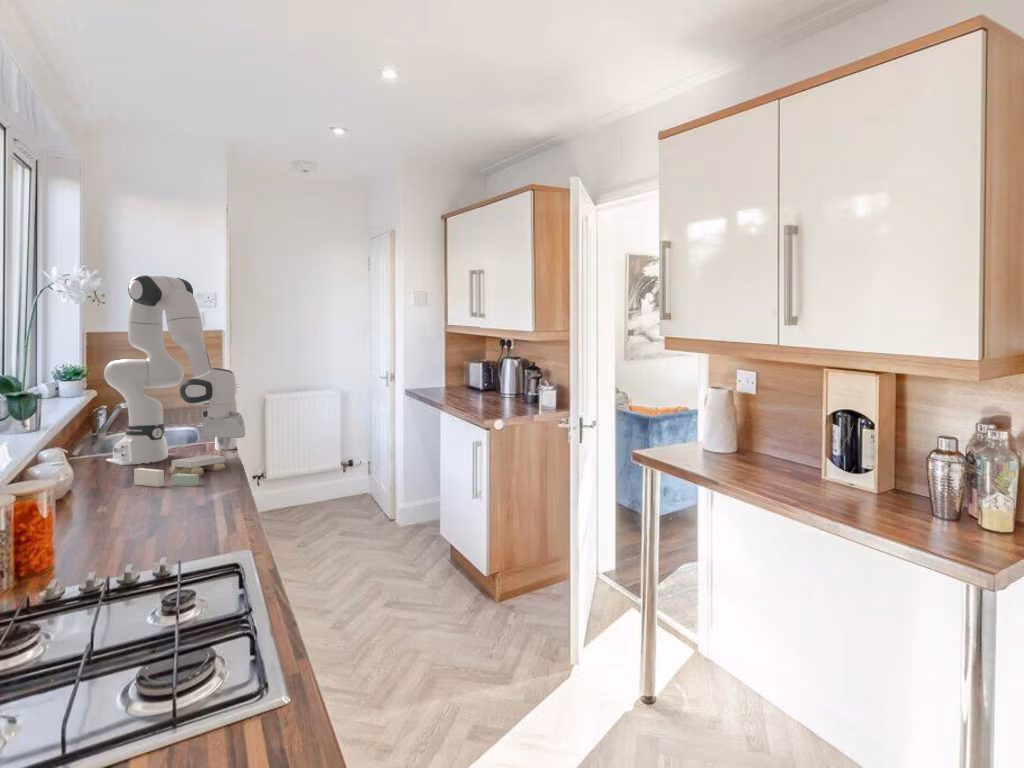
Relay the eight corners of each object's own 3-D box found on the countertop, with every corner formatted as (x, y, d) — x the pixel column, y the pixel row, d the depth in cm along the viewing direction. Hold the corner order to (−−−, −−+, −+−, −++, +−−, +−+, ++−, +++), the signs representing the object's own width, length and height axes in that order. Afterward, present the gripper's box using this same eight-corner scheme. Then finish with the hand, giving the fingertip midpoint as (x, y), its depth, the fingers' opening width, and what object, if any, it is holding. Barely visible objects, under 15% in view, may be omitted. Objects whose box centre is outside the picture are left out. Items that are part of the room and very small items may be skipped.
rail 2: (191, 473, 210) (191, 462, 210) (201, 471, 214) (200, 460, 214) (216, 475, 206) (216, 464, 205) (225, 473, 209) (225, 462, 209)
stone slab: (171, 466, 201) (171, 460, 201) (206, 460, 214) (206, 454, 214) (190, 467, 198) (190, 461, 198) (224, 461, 211) (224, 456, 211)
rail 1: (168, 477, 202) (168, 466, 202) (178, 475, 205) (178, 464, 205) (193, 480, 197) (193, 468, 197) (204, 478, 201) (203, 466, 201)
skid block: (171, 485, 189) (171, 474, 189) (178, 483, 192) (178, 473, 192) (191, 486, 187) (191, 476, 187) (199, 485, 190) (198, 474, 190)
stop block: (134, 484, 190) (134, 469, 190) (140, 483, 192) (140, 468, 192) (158, 486, 186) (158, 471, 186) (164, 485, 188) (163, 470, 188)
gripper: (249, 411, 212) (250, 449, 212) (214, 411, 222) (215, 448, 222) (233, 412, 207) (234, 451, 207) (198, 412, 217) (199, 449, 217)
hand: (224, 449), depth 215 cm, fingers closed
